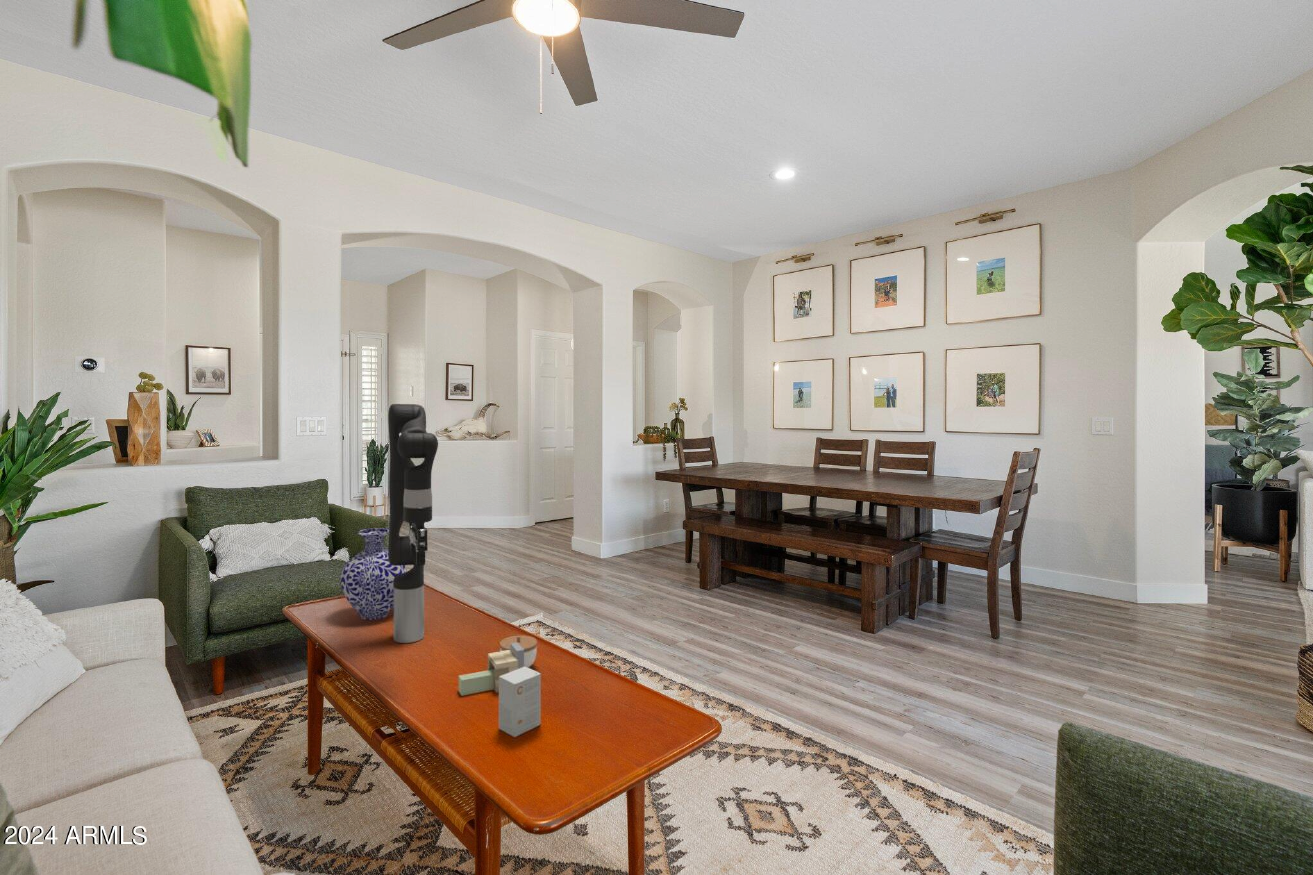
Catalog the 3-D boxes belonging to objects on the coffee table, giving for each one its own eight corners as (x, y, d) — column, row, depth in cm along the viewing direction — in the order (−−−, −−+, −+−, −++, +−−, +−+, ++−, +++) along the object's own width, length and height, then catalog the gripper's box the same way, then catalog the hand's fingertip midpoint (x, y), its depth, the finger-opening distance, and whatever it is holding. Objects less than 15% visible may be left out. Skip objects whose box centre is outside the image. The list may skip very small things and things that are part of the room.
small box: (524, 716, 164) (525, 665, 163) (541, 725, 160) (541, 673, 159) (497, 728, 158) (498, 675, 157) (514, 738, 154) (514, 684, 153)
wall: (510, 677, 185) (510, 643, 185) (516, 676, 186) (517, 642, 186) (516, 686, 180) (517, 650, 180) (523, 685, 181) (524, 649, 181)
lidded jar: (544, 664, 195) (544, 633, 194) (522, 678, 185) (522, 646, 185) (514, 657, 199) (514, 627, 199) (491, 671, 190) (491, 639, 189)
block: (487, 680, 183) (487, 653, 183) (508, 676, 186) (509, 649, 186) (496, 692, 176) (496, 664, 176) (517, 688, 179) (518, 660, 179)
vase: (353, 605, 242) (352, 525, 240) (414, 604, 245) (413, 525, 242) (331, 626, 221) (330, 538, 219) (397, 625, 223) (397, 538, 221)
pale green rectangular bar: (458, 691, 177) (458, 675, 177) (502, 682, 183) (503, 667, 183) (461, 696, 174) (461, 680, 174) (506, 687, 180) (506, 672, 180)
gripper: (399, 501, 188) (399, 557, 190) (408, 509, 176) (408, 569, 177) (427, 499, 192) (427, 554, 193) (437, 507, 180) (437, 566, 181)
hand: (418, 561), depth 185 cm, fingers open, 8 cm apart
